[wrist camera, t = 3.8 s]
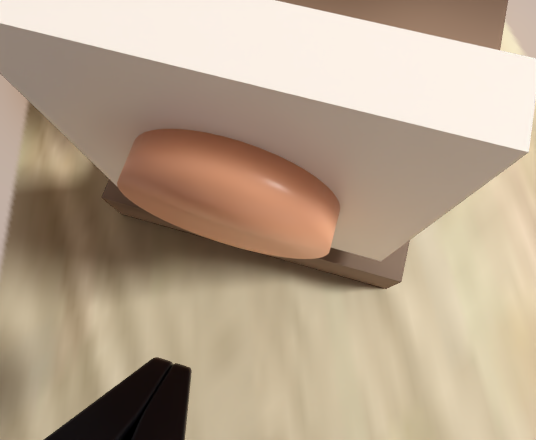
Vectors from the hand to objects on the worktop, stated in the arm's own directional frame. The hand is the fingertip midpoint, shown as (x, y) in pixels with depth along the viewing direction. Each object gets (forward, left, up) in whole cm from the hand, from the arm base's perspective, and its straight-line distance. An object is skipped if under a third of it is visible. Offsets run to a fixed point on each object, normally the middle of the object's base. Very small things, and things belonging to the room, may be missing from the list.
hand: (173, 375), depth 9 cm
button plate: (+5, +1, -4) cm, 6 cm away
